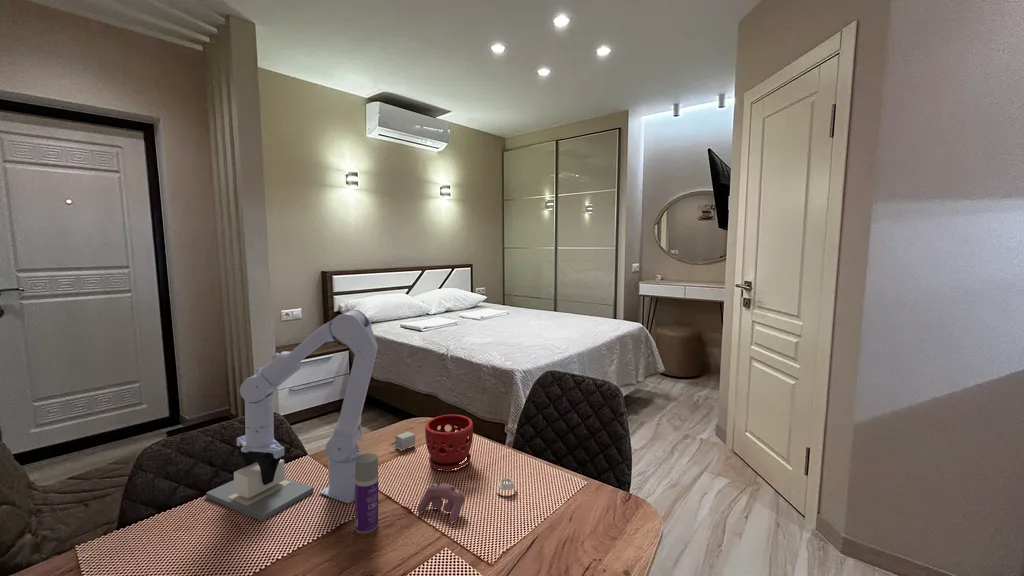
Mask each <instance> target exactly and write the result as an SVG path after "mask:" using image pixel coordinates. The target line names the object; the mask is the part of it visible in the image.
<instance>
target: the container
mask: <svg viewBox="0 0 1024 576" xmlns="http://www.w3.org/2000/svg"><path fill="white" fill-rule="evenodd" d="M378 526H379V456H378V455H377V453H376V454H375V453H372V452H368V453H362V454H361V455H360V456H358V457H357V458H356V464H355V500H354V531H355V532H357V534H370V533H372V532H374V531H375V530H376V529H378Z"/></svg>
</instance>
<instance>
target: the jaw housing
mask: <svg viewBox="0 0 1024 576" xmlns="http://www.w3.org/2000/svg"><path fill="white" fill-rule="evenodd" d="M285 471H286V470H285V460H284V459H282V458H281V460H280V462H279V464H278V466H277V469H276V472H275V476H274V480H273V482H271V483H269V484H267V485H263V482H262V477H261V470H260V467H259V465H258V463H257V462H256V463H253V464H251V465H249V466H247V467H244V466H243V467H242V468H240V469H238V470H236V471H234V472H233V480H234V493H235V494H238V495H240V496H243V497H245V498H248V499H249V498H250V497H252V496H254V495H256V494H258V493H260V492H262V491H264V490H266V489H268V488H270V487H272V486H274V485H276V484H278V483H280V482H282V481H284V480H285V477H286V476H285Z"/></svg>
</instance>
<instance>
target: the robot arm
mask: <svg viewBox="0 0 1024 576" xmlns="http://www.w3.org/2000/svg"><path fill="white" fill-rule="evenodd" d="M336 340H338V341H340V342H341V343H343V344H344V345H346V346H348V348H349V349H350V350H351V352H353V354H354V358H353V362H352V366H351V369H350V373H349V377H348V382H347V386H346V388H345V389H346V390H345V392H344V393H345V394H344V398H343V401H342V405H341V410H340V413H339V417H338V420H337V422H336V425H335V427H334V430H333V434H332V436H331V437H330V438H329V439H328V441H327V442H326V444H325V453H326V456H327V458H328V462H327V463H328V486H327V487H325V488H323V489H321V490H320V492H319V493H320V494H321V495H322V496H326V497H328V498H331V499H333V500H338V501H340V502H343V503H345V504H350V503H352V502H353V501H355V464H356V458H357V457H358V456H360V455H362V454H361V449H360V447H359V444H358V442H360V440H361V438H362V434H363V433H362V431H363V430H362V428H361V423H362V413H363V409H364V404H365V402H366V397H367V393H368V389H369V385H370V381H371V377H372V374H373V370H374V369H373V368H374V365H375V360H376V357H377V353H378V350H379V349H378V348H379V346H378V343H377V339H376V338H375V335H374V331H373V328H372V322H371V320H370V318H368V317H367V316H366V314H365V313H364V312H363V311H361V310H359V309H355V308H354V309H349V310H347V311H345V312H344V313H342V314H338V315H337V316H335V317H334V318H333V319H332V320H330V321H328V322H326V323H324V324H323V325H321V326H319V327H318V328H317V329H316V330H314V332H312V333H311V334H310V335H308V336H307V337H306V338H305V339H304V340H303V341H302V342H301V343H300V344H298V345H297V346H296V347H294V349H293V350H291V351H281V352H280V353H279V352H276V353H275V354H273V355H272V356H271V358H272V359H271V360H270V361H269V362H267V363H266V364H265V365H264V366H263V367H258V368H257V369H255V374H253V375H252V376H250V377H247V378H246V379H244V381H243V382H242V383H241V385H240V386H239V387H240V388H239V393H240V397H241V398H242V399H243V400H244V421H245V422H244V427H245V429H244V430H245V431H244V432H245V434H244V435H241V436H239V437H236V446H237V447H241V448H240V449H239V450H238V451H236V456H237V457H238V458H239V459H240V461H241V462H242V465H243V468H244V467H247V466H249V465H251V464H253V463H256V462H257V463H258V465H259V467H260V470H261V477H262V482H263V485H267V484H269V483H271V482H273V480H274V476H275V472H276V469H277V466H278V464H279V462H280V460H281V459H282V458H283V457H284V456H285V447H284V446H282V445H281V444H280V443H279V442H278V441H277V440H276V439H275V434H274V433H275V432H274V430H275V429H274V427H275V426H274V392H275V391H276V390H277V388H278V387H280V386H281V385H282V384H284V383H285V382H286V381H287V380H288V379H290V378H291V377H292V376H293V375H294V374H296V373H297V372H298V371H299V370H300V369H301V363H302V361H303V360H304V359H305V358H306V357H308V356H309V355H310V354H312V353H313V352H314V351H316V350H317V349H319V348H320V347H321V346H322V345H323V344H325V343H326V342H329V343H330V342H335V341H336ZM262 453H264V454H263V455H262Z"/></svg>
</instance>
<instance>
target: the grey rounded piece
mask: <svg viewBox="0 0 1024 576" xmlns="http://www.w3.org/2000/svg"><path fill="white" fill-rule="evenodd" d="M504 481H509V482H511V483H510V484H504V483H502V482H504ZM497 486H498V487H499V488H500V489H502V490H512V489H513V488H514V487H516V485H515V484H514V482H513V479H511V478H509V477H503V478H501V479H500V481H499V482H498V484H497Z"/></svg>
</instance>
